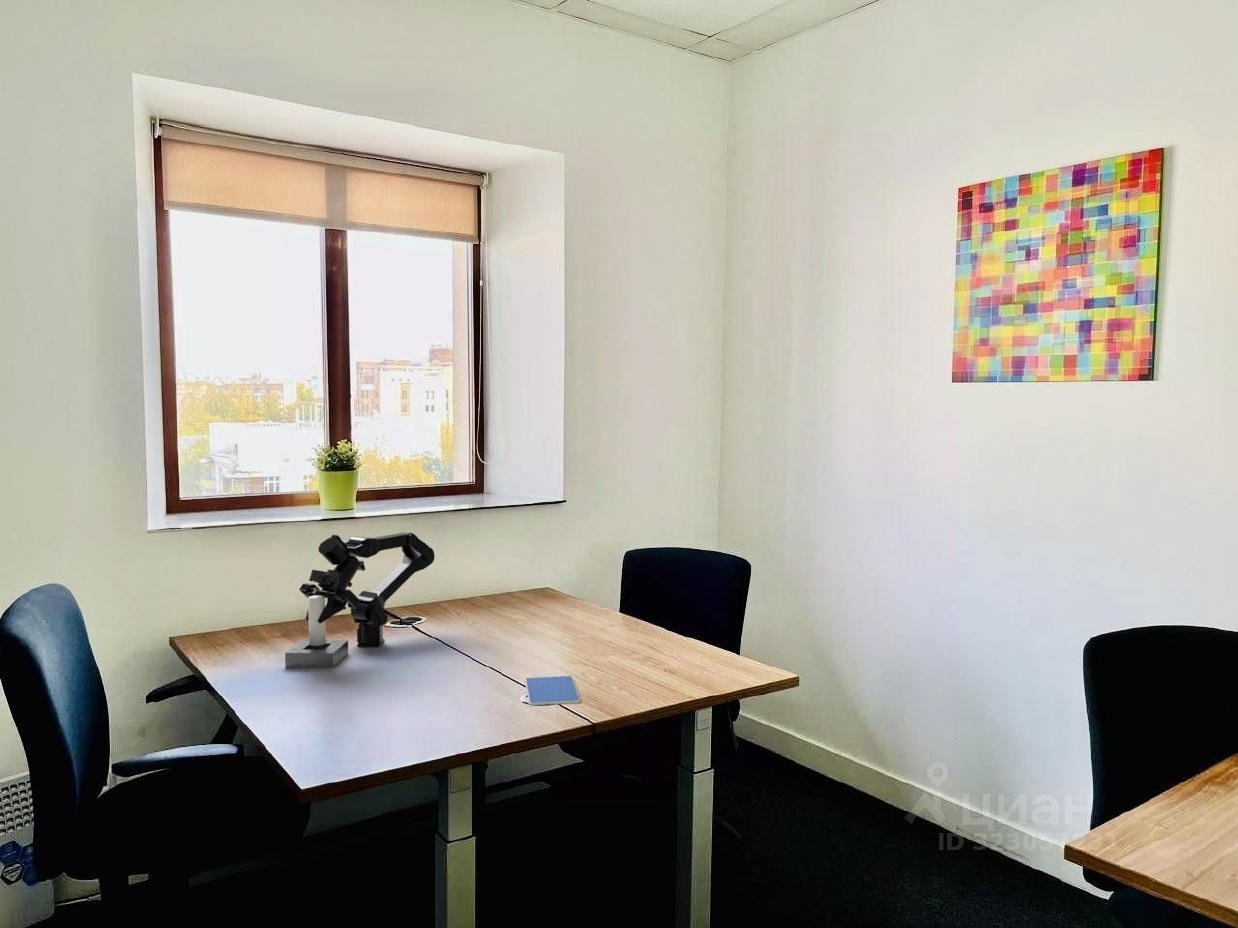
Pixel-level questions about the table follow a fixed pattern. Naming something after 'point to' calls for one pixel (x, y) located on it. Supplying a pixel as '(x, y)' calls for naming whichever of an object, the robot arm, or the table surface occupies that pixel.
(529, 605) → the table surface
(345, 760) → the table surface
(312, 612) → the peg
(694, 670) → the table surface
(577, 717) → the table surface
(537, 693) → the tablet computer
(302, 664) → the collar
